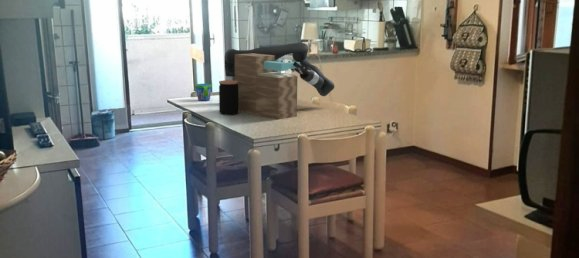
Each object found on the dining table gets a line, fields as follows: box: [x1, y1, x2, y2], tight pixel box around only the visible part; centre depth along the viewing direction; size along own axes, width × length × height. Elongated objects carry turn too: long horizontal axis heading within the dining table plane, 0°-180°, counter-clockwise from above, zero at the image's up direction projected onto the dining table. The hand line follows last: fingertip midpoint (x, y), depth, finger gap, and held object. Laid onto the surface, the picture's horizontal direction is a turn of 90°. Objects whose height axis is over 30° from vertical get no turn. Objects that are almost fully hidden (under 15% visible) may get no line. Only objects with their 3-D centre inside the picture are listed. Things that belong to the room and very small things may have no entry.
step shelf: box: [235, 53, 298, 120], centre depth 313 cm, size 14×36×32 cm, turn 45°
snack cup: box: [194, 83, 213, 102], centre depth 358 cm, size 16×10×10 cm
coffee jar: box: [218, 79, 240, 116], centre depth 313 cm, size 11×11×18 cm
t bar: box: [264, 60, 300, 72], centre depth 309 cm, size 19×14×4 cm
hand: (291, 62), depth 312 cm, fingers closed on t bar, 4 cm apart
